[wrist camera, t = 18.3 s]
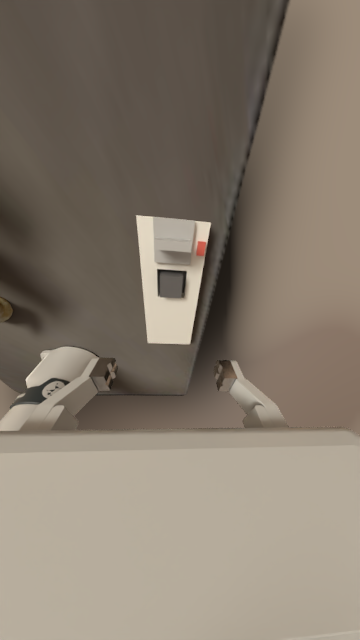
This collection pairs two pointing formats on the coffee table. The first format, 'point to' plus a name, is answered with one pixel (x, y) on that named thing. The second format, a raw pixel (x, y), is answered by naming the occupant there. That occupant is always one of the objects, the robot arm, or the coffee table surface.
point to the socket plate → (161, 313)
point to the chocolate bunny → (5, 310)
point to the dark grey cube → (171, 283)
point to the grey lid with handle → (173, 240)
